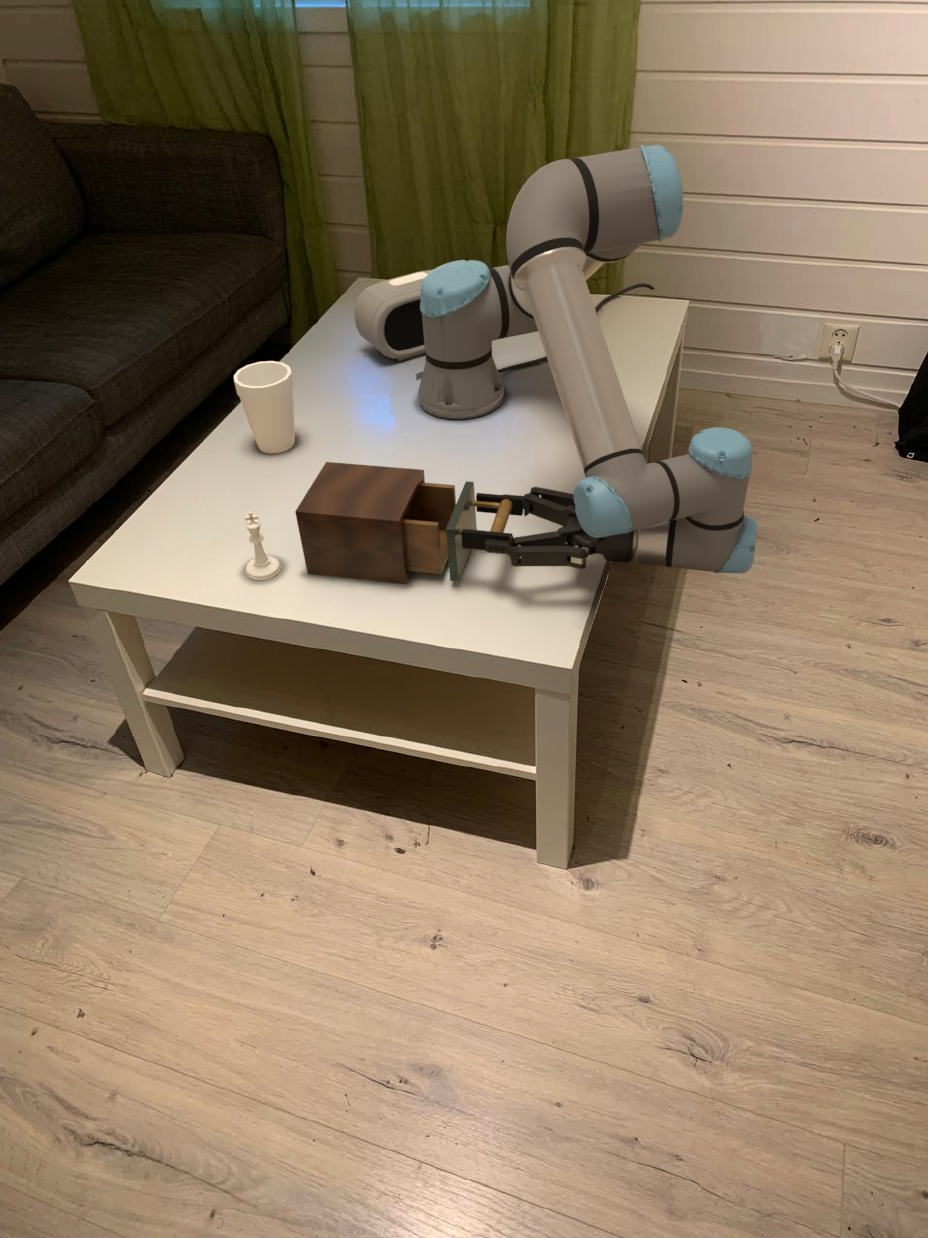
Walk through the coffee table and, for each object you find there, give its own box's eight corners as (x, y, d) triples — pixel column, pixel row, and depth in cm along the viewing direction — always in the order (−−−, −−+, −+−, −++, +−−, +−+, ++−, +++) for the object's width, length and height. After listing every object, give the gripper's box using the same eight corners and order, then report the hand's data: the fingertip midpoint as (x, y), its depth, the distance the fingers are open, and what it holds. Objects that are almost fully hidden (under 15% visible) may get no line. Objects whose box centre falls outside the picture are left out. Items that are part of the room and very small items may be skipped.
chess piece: (248, 561, 147) (234, 504, 140) (281, 557, 147) (269, 500, 140) (245, 581, 143) (230, 524, 137) (279, 578, 143) (266, 521, 137)
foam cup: (293, 460, 168) (279, 389, 159) (241, 456, 169) (224, 386, 161) (310, 431, 175) (298, 362, 166) (260, 428, 176) (246, 359, 168)
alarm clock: (380, 369, 191) (372, 301, 182) (358, 351, 197) (350, 284, 188) (473, 340, 198) (470, 274, 189) (449, 323, 204) (445, 258, 196)
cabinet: (429, 531, 150) (424, 469, 143) (406, 584, 141) (399, 521, 134) (336, 522, 153) (326, 461, 146) (307, 573, 144) (295, 511, 137)
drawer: (516, 536, 146) (515, 485, 140) (500, 586, 138) (498, 533, 132) (388, 524, 150) (382, 474, 144) (364, 571, 142) (357, 520, 136)
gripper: (625, 606, 129) (453, 587, 134) (641, 514, 144) (487, 500, 149) (628, 560, 124) (449, 542, 129) (645, 469, 139) (485, 456, 144)
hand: (470, 519), depth 139 cm, fingers closed on drawer, 8 cm apart
